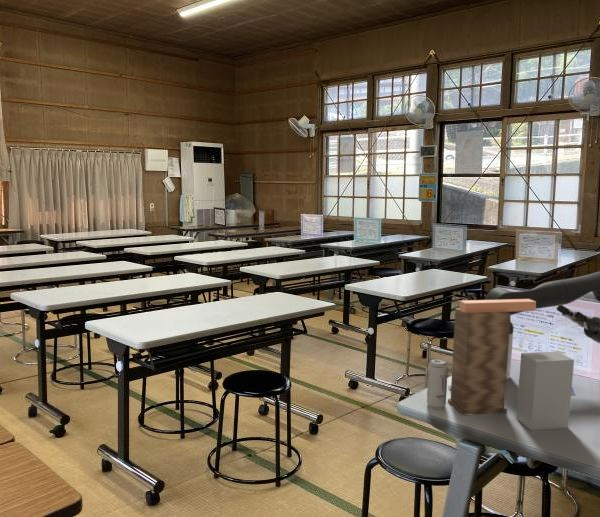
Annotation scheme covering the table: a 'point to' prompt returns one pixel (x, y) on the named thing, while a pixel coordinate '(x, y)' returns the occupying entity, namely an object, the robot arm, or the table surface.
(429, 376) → the energy drink can
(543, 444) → the table surface
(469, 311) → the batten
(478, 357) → the pedestal
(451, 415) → the table surface
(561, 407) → the gray rectangular block
